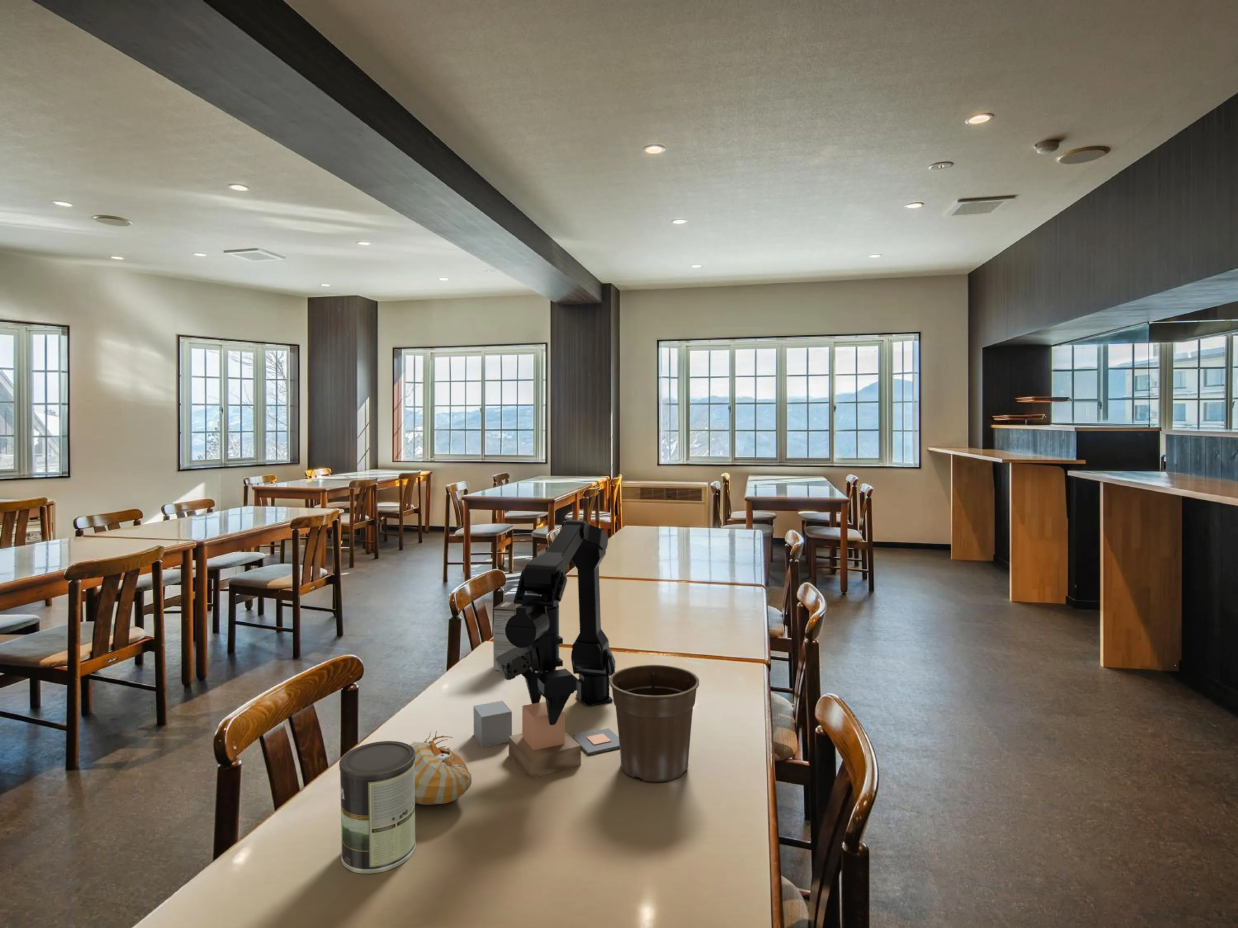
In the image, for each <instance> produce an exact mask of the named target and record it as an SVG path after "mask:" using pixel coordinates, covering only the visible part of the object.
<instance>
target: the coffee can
mask: <svg viewBox="0 0 1238 928" xmlns="http://www.w3.org/2000/svg"><path fill="white" fill-rule="evenodd" d="M414 760H415V750H414V748H413V747H412V746H410V744H409V743H405V742H402V741H395V740H382V741H375V742H369V743H365V744H363V745H360V746H357V747H354V748H353V749H351V750H349V751H348V752H346V753H345V754H344V755H342V757H341V758H340V760H339V762H338V763H339V765H338V767H339V771H340V773H339V777H340V781H339V782H340V822H341V823H340V824H341V825H340V827H341V831H340V832H341V836H340V838H341V855H340V861H341V863H342V866H344V868H345V869H347V870H348V871H350V872H352V873H355V874H360V875H361V874H362V875H371V874H378V873H384V872H388V871H391V870H392V869H394V868H397V867H399V866H401V865H403V863H405V862H407V861H408V860H409V859H410V858H411V857H412V856H413V854H414V853H415V850H416V848H417V845H416V844H417V843H416V842H417V841H416V812H415V811H416V809H415V808H416V807H415V805H416V803H415V774H414Z"/></svg>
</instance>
